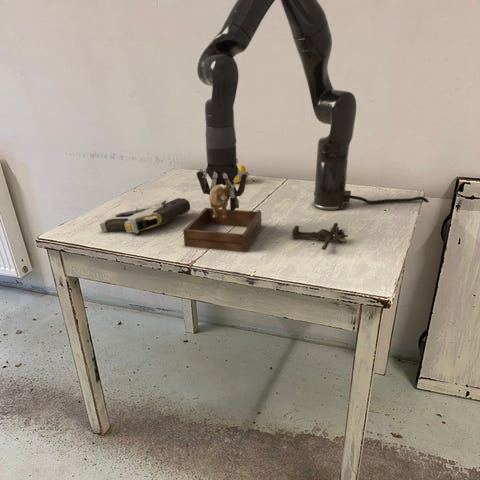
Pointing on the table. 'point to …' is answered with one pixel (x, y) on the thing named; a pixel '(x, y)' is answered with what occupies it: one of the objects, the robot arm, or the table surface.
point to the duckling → (241, 168)
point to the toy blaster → (146, 216)
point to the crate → (221, 239)
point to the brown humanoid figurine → (322, 235)
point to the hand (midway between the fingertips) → (224, 209)
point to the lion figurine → (220, 199)
